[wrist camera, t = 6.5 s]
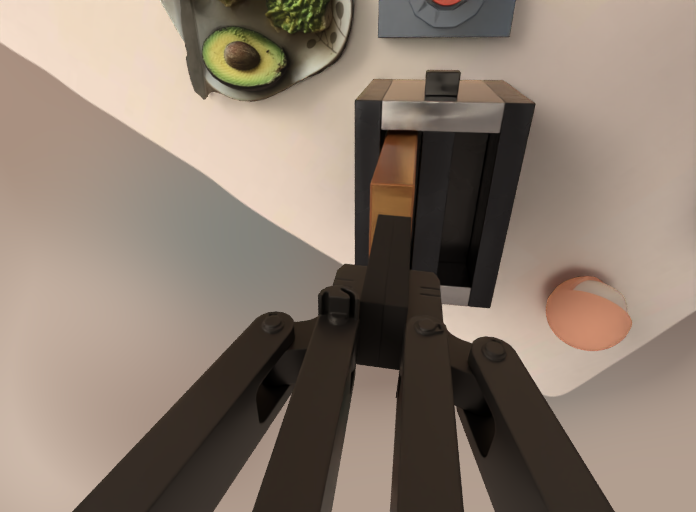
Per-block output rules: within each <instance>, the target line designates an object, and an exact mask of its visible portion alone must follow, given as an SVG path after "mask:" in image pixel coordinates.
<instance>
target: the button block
mask: <svg viewBox="0 0 696 512" xmlns="http://www.w3.org/2000/svg"><path fill="white" fill-rule="evenodd" d="M515 2H516V0H461V1H460V2H458V3H456V4H454V5H451V6H440V5H438V4H436V3H434V2H433V1H432V0H379V17H378V38H416V37H509V36H510V31H511V25H512V19H513V14H514V8H515Z"/></svg>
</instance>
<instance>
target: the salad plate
mask: <svg viewBox="0 0 696 512" xmlns="http://www.w3.org/2000/svg"><path fill="white" fill-rule="evenodd" d="M160 1H161V3H162V5H163V7H164V8H165V10H166V12H167V14H168V15H169V17H170V19H171V20H172V22H173V24H174V26H175V28H176V30H177V31H178V33H179V34H180V36H181V38H182V39H183V41H184V42H185V47H186V50H187V57H186V61H187V67H188V71H189V75H190V79H191V82H192V86H193V88H194V91H195V92H196V93H197V94H198V95H200V96H201V97H202V98H203V99H204V100H205V99H206V98H207V97H208V94H209V93H211V92H218V93H221V94H223V95H225V96H227V97H230V98H232V99H236V100H239V101H250V102H252V101H258V100H262V99H265V98H268V97H270V96H273V95H275V94H277V93H279V92H281V91H283V90H285V89H287V88H288V87H290V86H292V85H294V84H296V83H298V82H300V81H302V80H304V79H305V78H307V77H311V76H313V75H315V74H318V73H320V72H322V71H323V70H324V69H326V68H327V67H329V66H331V65H332V64H334V63H335V62H336V61H337V60H338V59H339V58H340V56H341V55H342V53H343V51H344V49H345V46H346V43H347V40H348V37H349V33H350V29H351V25H352V15H353V1H352V0H160Z"/></svg>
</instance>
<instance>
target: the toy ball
mask: <svg viewBox="0 0 696 512" xmlns="http://www.w3.org/2000/svg"><path fill="white" fill-rule="evenodd" d="M546 317H547V321H548V323H549V326H550V328H551V329H552V331H553V332H554V333H555V335H556V336H557V337H558V338H559V339H561V340H562V341H563V342H565V343H566V344H568V345H570V346H572V347H574V348H577V349H581V350H587V351H599V350H604V349H608V348H610V347H613V346H614V345H616V344H618V343H619V342H620V341H622V340H623V339H624V338H625V337H626V335H627V334H628V332H629V331H630V329H631V327H632V320H631V318H630V316H629V315H628V310H627V304H626V301H625V298H624V296H623V295H622V294H621V293H620V292H619V291H618V290H616V289H615V288H613V287H611V286H609V285H607V284H604V283H603V282H602V281H601V280H600V279H598V278H596V277H592V276H583V277H576V278H572V279H569V280H567V281H565V282H563V283H562V284H560V285H559V286H558V287H557V288H556V289H555V290H554V291H553V292H552V294H551V295H550V296H549V297H548V300H547V305H546Z"/></svg>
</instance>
